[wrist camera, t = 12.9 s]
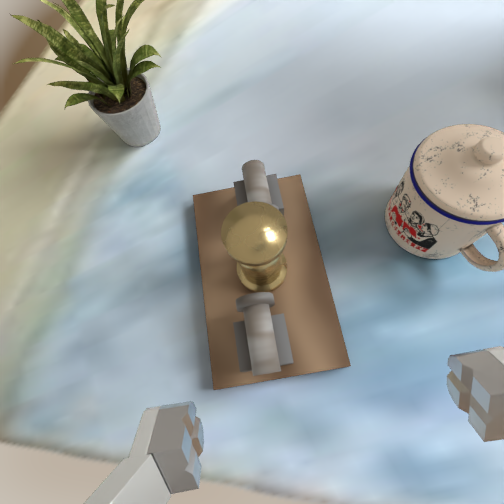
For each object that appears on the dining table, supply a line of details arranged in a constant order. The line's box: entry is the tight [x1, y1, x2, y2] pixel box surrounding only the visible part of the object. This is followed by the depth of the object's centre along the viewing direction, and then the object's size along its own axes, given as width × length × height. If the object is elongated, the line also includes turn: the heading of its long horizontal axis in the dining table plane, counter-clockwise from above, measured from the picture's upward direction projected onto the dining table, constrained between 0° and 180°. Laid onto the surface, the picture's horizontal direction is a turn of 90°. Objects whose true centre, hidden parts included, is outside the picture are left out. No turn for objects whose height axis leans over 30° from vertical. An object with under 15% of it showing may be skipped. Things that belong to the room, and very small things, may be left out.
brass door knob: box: [221, 201, 287, 293], centre depth 27 cm, size 5×5×9 cm
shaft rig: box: [193, 160, 351, 390], centre depth 30 cm, size 12×20×7 cm, turn 9°
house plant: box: [12, 0, 162, 147], centre depth 34 cm, size 14×14×16 cm
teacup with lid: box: [385, 124, 504, 272], centre depth 27 cm, size 12×9×12 cm
